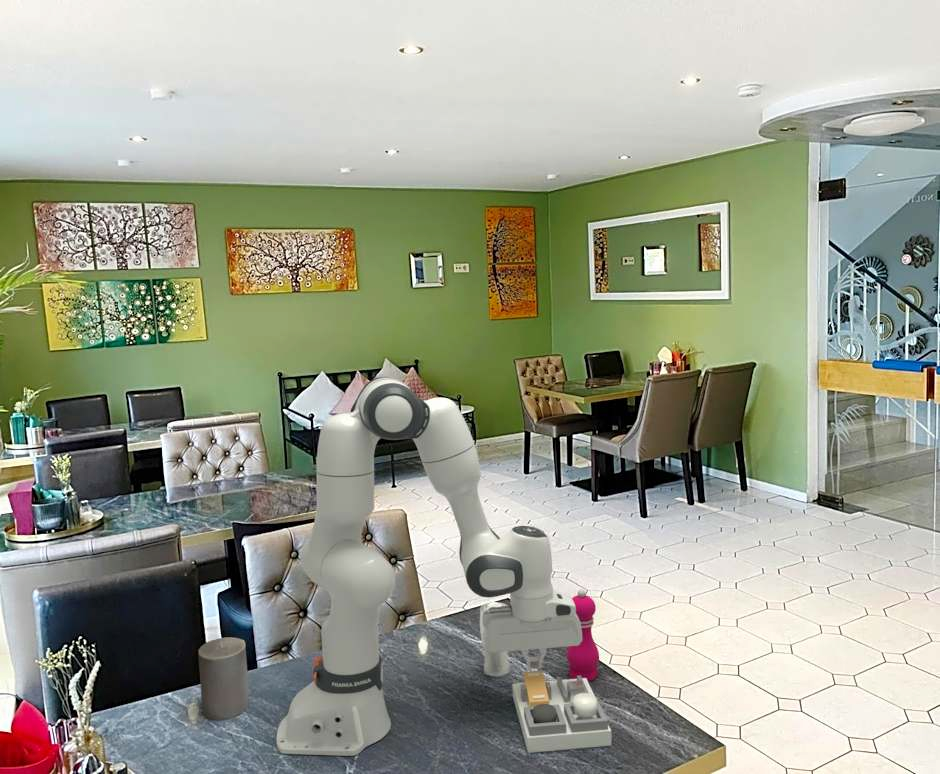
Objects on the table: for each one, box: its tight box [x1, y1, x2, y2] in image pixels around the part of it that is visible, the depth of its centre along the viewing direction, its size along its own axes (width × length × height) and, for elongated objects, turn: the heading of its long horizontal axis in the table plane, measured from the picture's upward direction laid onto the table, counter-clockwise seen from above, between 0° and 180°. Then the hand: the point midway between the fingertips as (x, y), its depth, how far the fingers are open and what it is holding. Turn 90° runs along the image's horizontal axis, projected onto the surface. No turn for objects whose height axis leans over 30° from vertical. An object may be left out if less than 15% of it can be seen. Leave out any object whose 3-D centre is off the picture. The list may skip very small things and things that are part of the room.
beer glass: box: [479, 601, 511, 678], centre depth 174 cm, size 7×7×15 cm
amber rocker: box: [522, 670, 549, 707], centre depth 156 cm, size 4×8×2 cm, turn 5°
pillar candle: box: [198, 636, 250, 721], centre depth 162 cm, size 10×10×15 cm
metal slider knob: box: [567, 681, 585, 703], centre depth 155 cm, size 3×3×3 cm
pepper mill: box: [566, 588, 600, 682], centre depth 170 cm, size 7×7×20 cm
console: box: [511, 676, 612, 754], centre depth 153 cm, size 16×20×6 cm
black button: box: [533, 704, 556, 724], centre depth 147 cm, size 4×4×2 cm
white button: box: [574, 693, 598, 717], centre depth 147 cm, size 4×4×2 cm
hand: (534, 667), depth 159 cm, fingers closed
